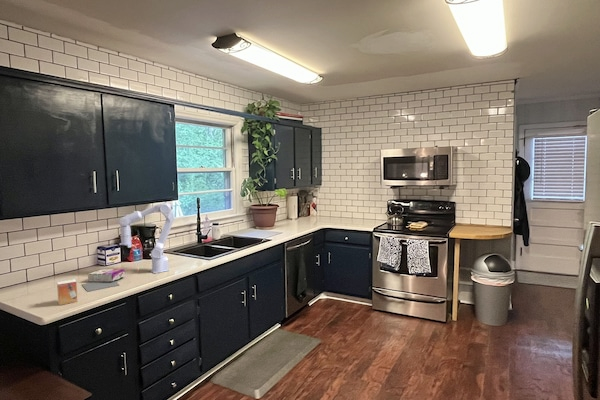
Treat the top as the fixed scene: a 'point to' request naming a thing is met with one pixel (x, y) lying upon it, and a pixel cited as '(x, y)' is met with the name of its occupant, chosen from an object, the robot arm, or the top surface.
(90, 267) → the top surface
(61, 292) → the small box
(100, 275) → the candy bar box
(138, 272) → the top surface
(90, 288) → the mat
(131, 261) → the top surface
